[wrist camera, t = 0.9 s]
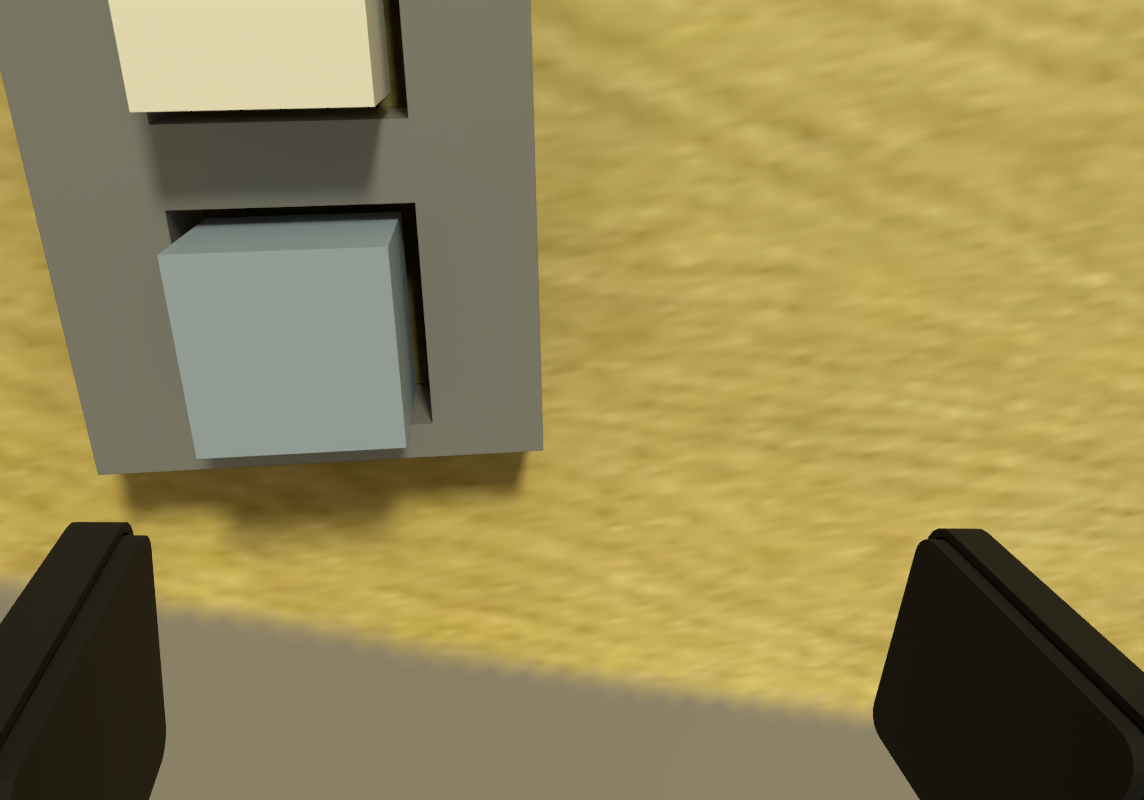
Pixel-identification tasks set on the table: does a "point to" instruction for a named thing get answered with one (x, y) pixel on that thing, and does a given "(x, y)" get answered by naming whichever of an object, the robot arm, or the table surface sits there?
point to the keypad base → (286, 179)
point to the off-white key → (251, 54)
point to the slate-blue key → (292, 333)
